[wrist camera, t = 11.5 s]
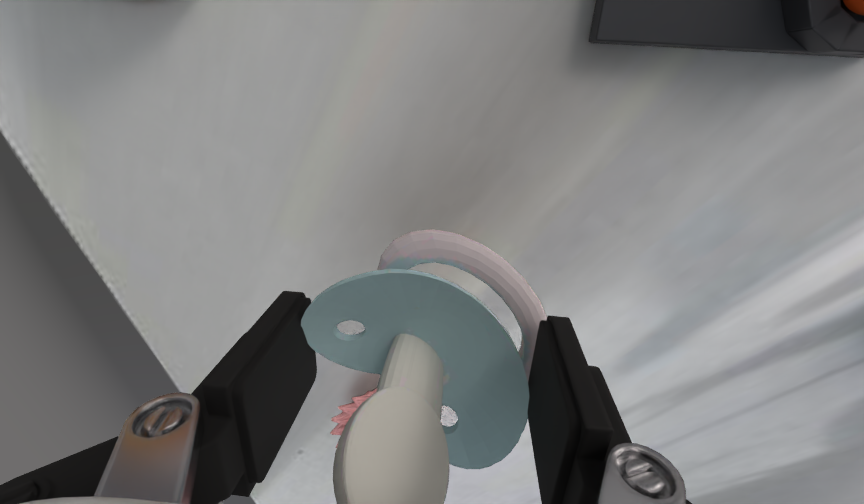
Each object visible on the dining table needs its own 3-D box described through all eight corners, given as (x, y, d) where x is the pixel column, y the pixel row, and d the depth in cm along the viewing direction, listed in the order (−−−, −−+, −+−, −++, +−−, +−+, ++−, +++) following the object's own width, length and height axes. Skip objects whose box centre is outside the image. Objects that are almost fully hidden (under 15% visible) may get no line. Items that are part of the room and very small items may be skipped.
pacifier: (442, 176, 11) (301, 294, 13) (419, 278, 5) (172, 465, 7) (589, 348, 13) (447, 430, 15) (690, 562, 7) (436, 652, 9)
